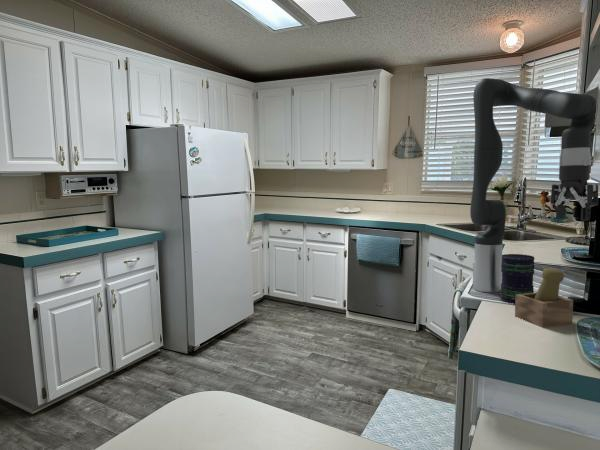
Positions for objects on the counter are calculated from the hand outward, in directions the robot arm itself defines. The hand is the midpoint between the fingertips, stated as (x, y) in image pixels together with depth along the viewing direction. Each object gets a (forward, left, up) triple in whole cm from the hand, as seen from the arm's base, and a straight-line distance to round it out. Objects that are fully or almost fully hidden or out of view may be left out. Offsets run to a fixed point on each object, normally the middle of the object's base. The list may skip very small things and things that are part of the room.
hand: (572, 219), depth 123 cm
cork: (+4, -13, -24) cm, 28 cm away
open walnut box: (+4, -13, -28) cm, 31 cm away
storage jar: (-15, -6, -28) cm, 33 cm away
